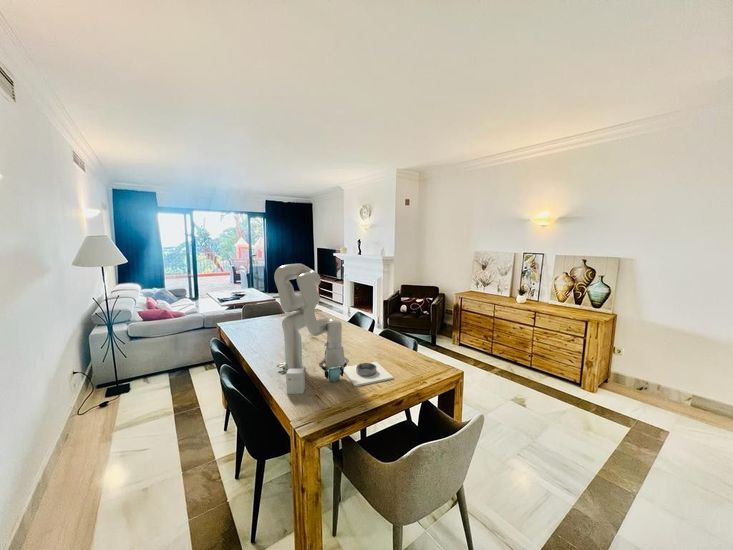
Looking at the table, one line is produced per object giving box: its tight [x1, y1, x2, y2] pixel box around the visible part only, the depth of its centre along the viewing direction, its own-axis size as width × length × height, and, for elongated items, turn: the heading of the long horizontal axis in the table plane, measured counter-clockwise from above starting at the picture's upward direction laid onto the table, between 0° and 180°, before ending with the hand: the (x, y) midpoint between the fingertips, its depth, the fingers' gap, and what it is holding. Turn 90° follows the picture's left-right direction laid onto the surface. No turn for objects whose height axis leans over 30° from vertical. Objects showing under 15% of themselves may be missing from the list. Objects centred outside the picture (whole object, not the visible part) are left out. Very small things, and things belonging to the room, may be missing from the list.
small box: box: [285, 368, 306, 395], centre depth 145 cm, size 8×6×10 cm
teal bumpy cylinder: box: [327, 366, 341, 382], centre depth 158 cm, size 7×6×6 cm
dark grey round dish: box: [356, 362, 376, 377], centre depth 164 cm, size 11×11×3 cm
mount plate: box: [344, 361, 394, 388], centre depth 165 cm, size 22×22×1 cm
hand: (334, 376), depth 158 cm, fingers closed on teal bumpy cylinder, 7 cm apart
